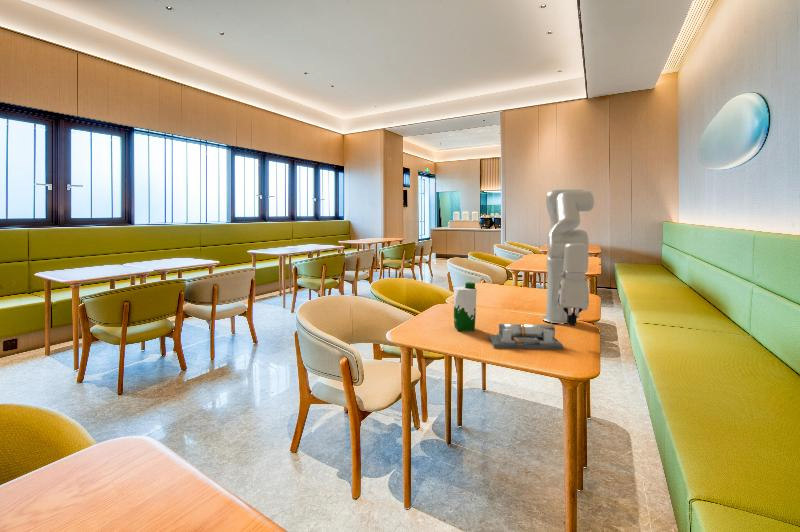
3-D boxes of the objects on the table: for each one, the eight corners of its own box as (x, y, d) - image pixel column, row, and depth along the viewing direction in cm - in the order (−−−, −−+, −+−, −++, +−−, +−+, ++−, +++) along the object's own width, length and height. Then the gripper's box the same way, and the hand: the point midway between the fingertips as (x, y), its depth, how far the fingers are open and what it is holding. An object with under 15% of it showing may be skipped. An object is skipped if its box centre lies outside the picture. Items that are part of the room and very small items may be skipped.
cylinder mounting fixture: (552, 339, 160) (553, 323, 160) (563, 349, 148) (564, 332, 148) (488, 338, 162) (489, 322, 161) (493, 348, 150) (494, 331, 149)
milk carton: (477, 331, 171) (478, 284, 169) (456, 332, 171) (457, 285, 168) (471, 326, 180) (473, 281, 178) (451, 326, 179) (452, 281, 177)
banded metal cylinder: (550, 336, 157) (551, 323, 156) (554, 339, 152) (555, 326, 151) (503, 335, 158) (503, 322, 157) (505, 338, 153) (506, 325, 152)
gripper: (556, 277, 147) (554, 327, 149) (598, 278, 147) (596, 328, 148) (550, 275, 155) (548, 322, 157) (590, 275, 154) (587, 323, 156)
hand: (571, 325), depth 152 cm, fingers closed
